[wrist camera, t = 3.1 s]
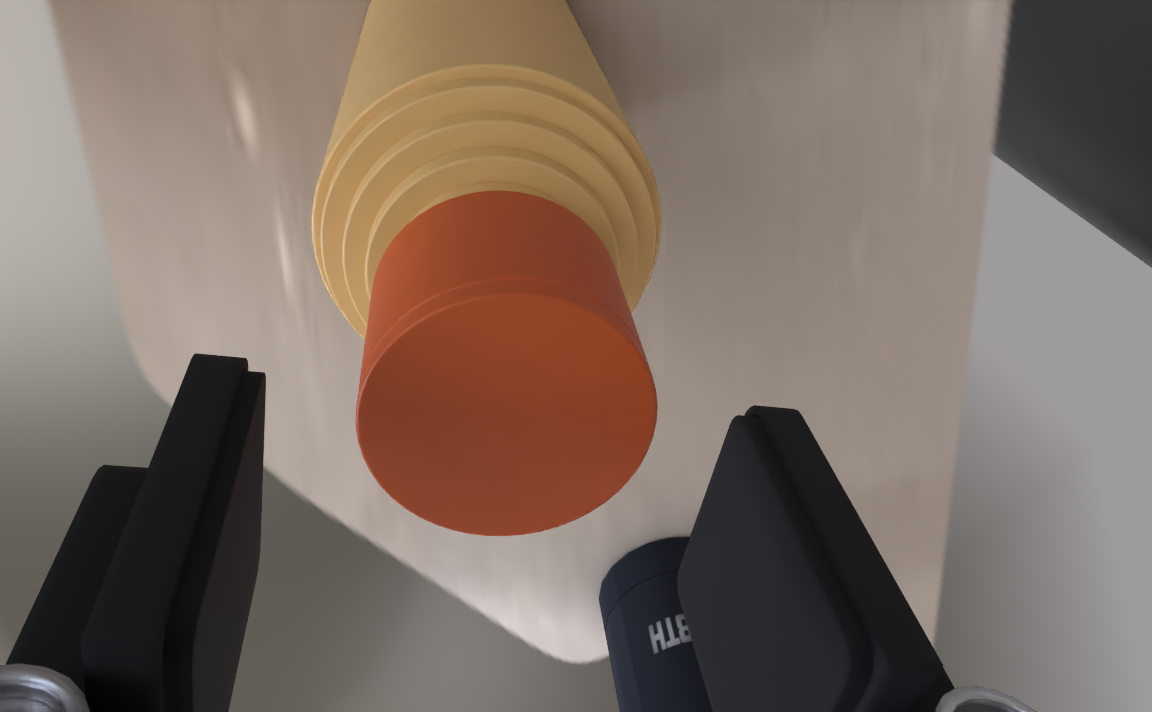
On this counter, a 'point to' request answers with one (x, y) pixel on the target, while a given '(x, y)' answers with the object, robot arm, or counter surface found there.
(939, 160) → the counter surface
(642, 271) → the sauce bottle
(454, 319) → the cap
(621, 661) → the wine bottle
